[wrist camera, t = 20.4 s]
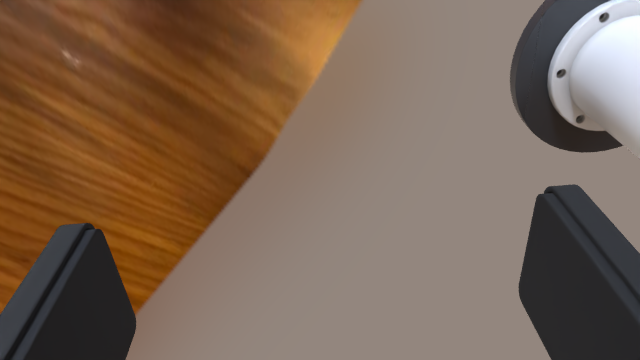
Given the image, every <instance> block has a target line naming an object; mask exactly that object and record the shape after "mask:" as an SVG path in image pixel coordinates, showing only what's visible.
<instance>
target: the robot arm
mask: <svg viewBox="0 0 640 360" xmlns="http://www.w3.org/2000/svg"><path fill="white" fill-rule="evenodd" d="M600 15H601V16H600ZM547 87H548V93H549V98H550V100H551V102H552V104H553V106H554V108H555V109H556V110H557V112H558V113H559V114H560V115H561V116H562V117H563V118H564V119H565V120H567V121H568V122H569V123H571V124H572V125H574V126H576V127H579V128H582V129H586V130H592V131H607V132H608V133H609V134H610V135H612V136H613V137H614V138H615V139H616V140H617V141H619V142H620V143H621V144H622V145H623V146H625V147H626V148H627V149H628V150H629V151H631V152H632V153H633V154H634V155H635V156H636V157H638V158H639V159H640V0H610V1H608V2H606V3H604V4H601V5H599V6H598V7H596V8H595V9H593V10H592V11H590V12H588V13H587V14H586V15H584V16H583V17H582V18H581V19H580V20H579V21H578V22H576V23H575V24H574V25H573V26H572V28H571V29H570V30H569V31H568V32H567V33H566V35H565V36H564V37H563V39H562V40H561V42H560V43H559V45H558V47H557V48H556V50H555V53H554V55H553V57H552V60H551V62H550V67H549V71H548V81H547ZM519 296H520V299H521V302H522V304H523V306H524V308H525V310H526V312H527V314H528V315H529V317H530V319H531V321H532V323H533V325H534V327H535V329H536V331H537V333H538V335H539V337H540V338H541V340H542V342H543V344H544V346H545V348H546V350H547V352H548V354H549V356H550V358H551V359H552V360H640V253H639V252H638V251H637V250H636V249H635V248H634V247H633V246H632V245H631V243H630V242H628V240H627V239H626V238H625V237H624V236H623V234H622V233H621V232H620V231H619V230H618V229H617V228H616V227H615V226H614V224H613V223H612V222H611V221H610V220H609V219H608V218H607V217H606V215H605V214H604V213H603V212H602V211H601V210H600V209H599V208H598V207H597V205H596V204H595V203H594V202H593V201H592V200H591V199H590V197H589V196H588V195H587V194H586V193H585V192H584V191H583V190H582V189H581V188H580V187H579V186H578V185H563V186H550V187H547V188H546V190H545V191H544V194H539V195H538V196H537V198H536V202H535V207H534V212H533V217H532V222H531V227H530V232H529V237H528V242H527V247H526V252H525V257H524V262H523V267H522V272H521V277H520V282H519ZM135 329H136V317H135V314H134V311H133V309H132V306H131V304H130V301H129V298H128V296H127V293H126V291H125V288H124V285H123V283H122V280H121V278H120V275H119V273H118V270H117V267H116V265H115V262H114V260H113V257H112V254H111V252H110V249H109V247H108V244H107V241H106V239H105V236H104V234H103V232H102V231H101V230H100V229H95V228H94V226H93V225H92V224H90V223H83V224H70V225H62V226H60V227H59V228H58V229H57V230H56V232H55V233H54V235H53V236H52V238H51V239H50V241H49V242H48V244H47V245H46V247H45V248H44V250H43V251H42V253H41V254H40V256H39V257H38V259H37V260H36V262H35V263H34V265H33V266H32V268H31V269H30V271H29V272H28V274H27V275H26V277H25V278H24V280H23V281H22V283H21V284H20V286H19V287H18V289H17V290H16V292H15V293H14V295H13V296H12V298H11V299H10V301H9V302H8V304H7V305H6V307H5V308H4V310H3V311H2V313H1V314H0V360H125V359H126V357H127V354H128V351H129V348H130V345H131V342H132V339H133V336H134V334H135Z"/></svg>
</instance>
